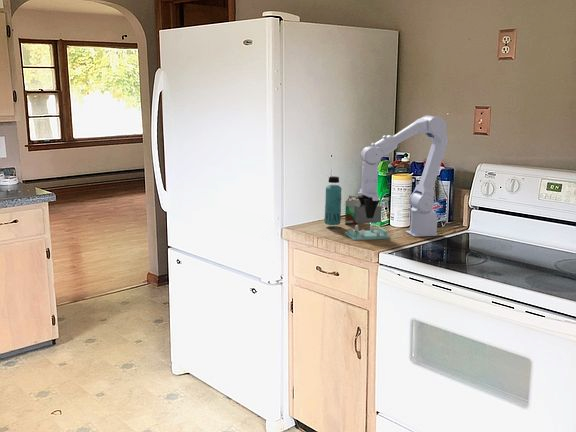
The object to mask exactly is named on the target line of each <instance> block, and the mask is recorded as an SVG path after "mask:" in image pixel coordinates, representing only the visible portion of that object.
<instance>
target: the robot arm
mask: <svg viewBox="0 0 576 432" xmlns="http://www.w3.org/2000/svg"><path fill="white" fill-rule="evenodd" d="M447 128H448V125H447V123H446V121H445V120H444V119H443V118H442V117H441V116H432V115H430V114H429V115H427V114H426V115H423V116H422V117H421V118H417V119H416V120H414V122H412V123H411V124H409V125H407V126H406V127H404V128H403V129H401V130H400V131H398V132H397V133H396V134H394V135H390V134H388V135H385V134H384V135H383V136H382V137H381V139H380V140H378V141H376V142H371V145H370V146H365V147H364V148H363V149H362V150H361V153H360V154H359V155H360V159H361V160H362V162H361V164H362V165H361V167H362V168H361V185H360V188H359V191H358V192H357V194H358V195H359V196H357V197H358V199H359V201H360V204H361V205H366V213H367V218H373V217H374V213H375V210H376V207H377V205H379V204H380V202H381V200H380V199H379V197H380V195H379V194H378V179H379V178H378V173H379V162H380V161H381V159H382V158H384V157H385V156H387V155H388V154H390V153H392V152H393V151H395V150H397V148H398V146H399V145H398V144H400V143H402V142H404V141H405V140H407V139H409V138H412V137H413V136H415V135H417V134H424V135H426V136H427V138H428V139H429V141H430V142H431V145H430V149H429V152H428V155H427V158H426V162H425V164H424V168H423V171H422V173H421V177H420V180H419V183H418V184H417V185H416V186H415V187H414V190H413V192H412V193H411V194H410V196H409V198H408V202H409V205H410V206H411V208H410V223H409V224H410V225H409V230H405V233H407V234H409V235H411V236H412V237H413V238H416V237H435V236H438V233H437V230H438V214H437V212H436V211H435V210H433V208H434V206H435V199H434V198H435V195H436V194H435V191H434V186H435V183H436V180H437V178H438V174H439V171H440V169H441V165H442V161H443V159H444V156H445V153H446V149H447V146H448V144H449V143H448V142H449V140H448V139H449V138H448V134H447Z"/></svg>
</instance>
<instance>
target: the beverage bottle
mask: <svg viewBox="0 0 576 432" xmlns="http://www.w3.org/2000/svg"><path fill="white" fill-rule="evenodd" d="M328 183H333V184H328V185H326V187H325V203H324V204H325V205H324V224H325V225H327V226H328V225H329V226H339V225H340V224H341V220H342V186H340V185H339V184H337V183H340V177H339V176H336V175H335V176H328ZM334 183H335V184H334Z"/></svg>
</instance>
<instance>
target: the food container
mask: <svg viewBox="0 0 576 432" xmlns="http://www.w3.org/2000/svg"><path fill="white" fill-rule="evenodd" d="M355 205H361V204H360V201H359V199H358V196H357V195H348V198H347V200H345V215H344V216H345V219H344V221H345V222H344V225H347V226H349V225H350V226H352V225H353V226H354V225H358V224H359V223H356V222H355V221H354V207H355Z"/></svg>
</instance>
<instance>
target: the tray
mask: <svg viewBox="0 0 576 432" xmlns="http://www.w3.org/2000/svg"><path fill="white" fill-rule="evenodd" d="M354 225H355V226H354V230H353V229H352V228H348V229H347V231H344V234H345V235H346V236H347V237H349V238H350V239H351V240H353V241H362V240H363V241H366V240H368V241H369V240H370V241H371V240H384V239H385V240H389V239H391V236H390V235H389V234H388V231H387V230H386V229H385V228H382V227H381V226H380V227H378V228H376V230H374V228H375V227H374V224H373V223H371V224H370V226H369V227H370V229H369V230H365V228H362V229H361V230H359V225H358V224H354Z"/></svg>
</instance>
